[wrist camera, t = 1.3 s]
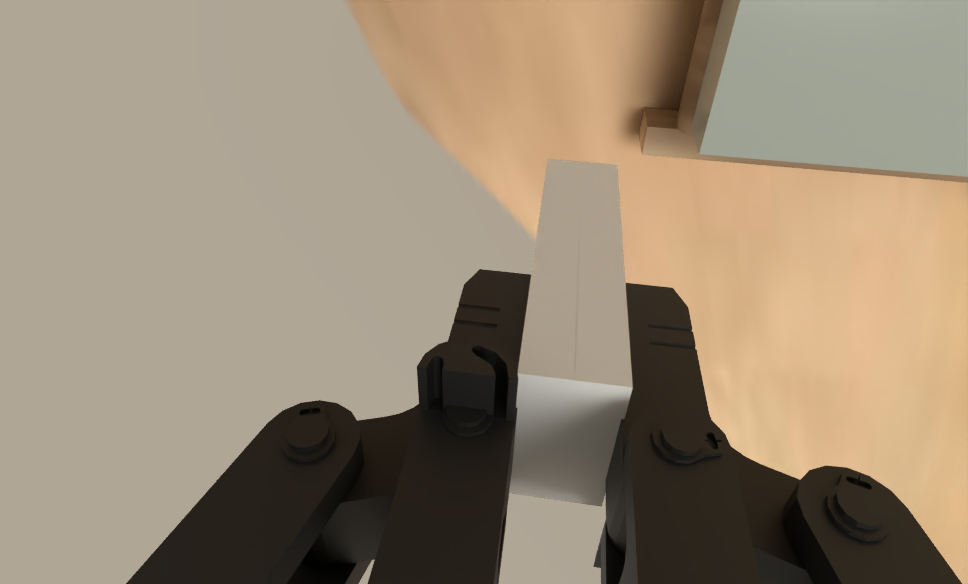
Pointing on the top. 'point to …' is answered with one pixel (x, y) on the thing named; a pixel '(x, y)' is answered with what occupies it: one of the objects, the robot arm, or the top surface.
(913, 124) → the stone slab
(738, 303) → the top surface
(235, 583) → the robot arm
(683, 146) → the roller bed
